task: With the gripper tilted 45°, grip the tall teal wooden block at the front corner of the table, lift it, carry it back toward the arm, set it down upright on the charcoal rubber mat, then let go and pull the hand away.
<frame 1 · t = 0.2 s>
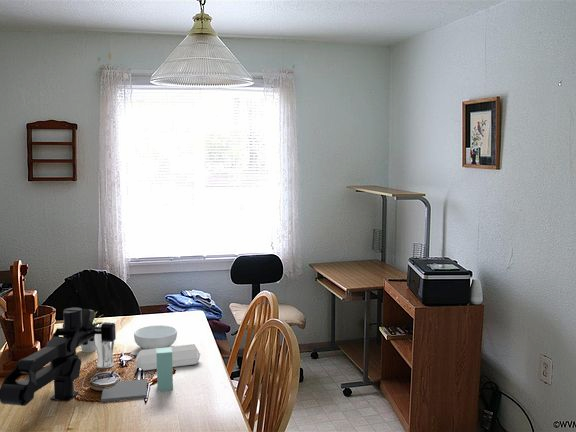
hand: (100, 324, 214), 17 cm above the table, tool horizontal, fingers open, 9 cm apart
rubber mat: (124, 391, 195), on the table
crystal: (168, 366, 220), on the table
house plant: (86, 351, 236), on the table
teal block: (165, 387, 199), on the table
beer glass: (105, 366, 220), on the table
cereal bowl: (156, 348, 240), on the table
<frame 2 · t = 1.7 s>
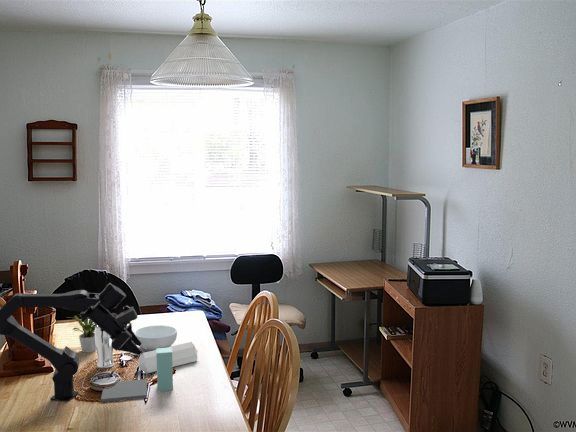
hand: (140, 349, 196), 14 cm above the table, tool tilted 45°, fingers open, 9 cm apart
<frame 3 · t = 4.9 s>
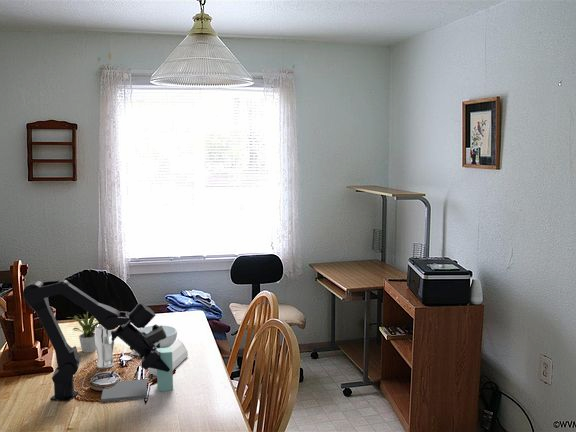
hand: (168, 367, 198), 7 cm above the table, tool tilted 45°, fingers closed on teal block, 5 cm apart
teal block: (165, 387, 199), on the table, touching gripper
when the fingers open (9 cm above the table, at t = 10.5 s): teal block drops 1 cm, resting on rubber mat.
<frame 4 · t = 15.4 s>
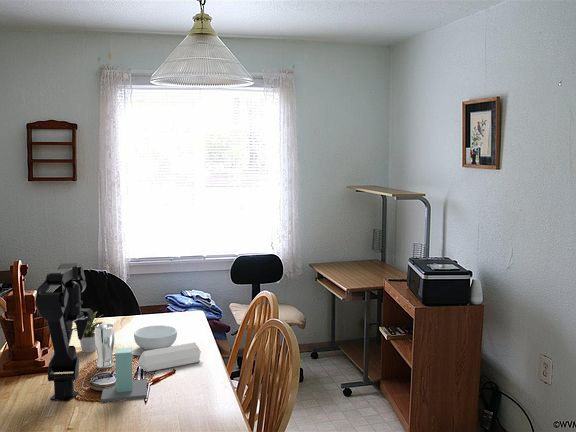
hand: (73, 343, 204), 13 cm above the table, tool pointing down, fingers open, 9 cm apart
teal block: (124, 388, 195), point 1 cm above the table, touching rubber mat
at the end: teal block inside the target area on the rubber mat (0.0 cm from its centre), point 1.0 cm above the rubber mat's base; teal block tilted 0°; the gripper is holding nothing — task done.
